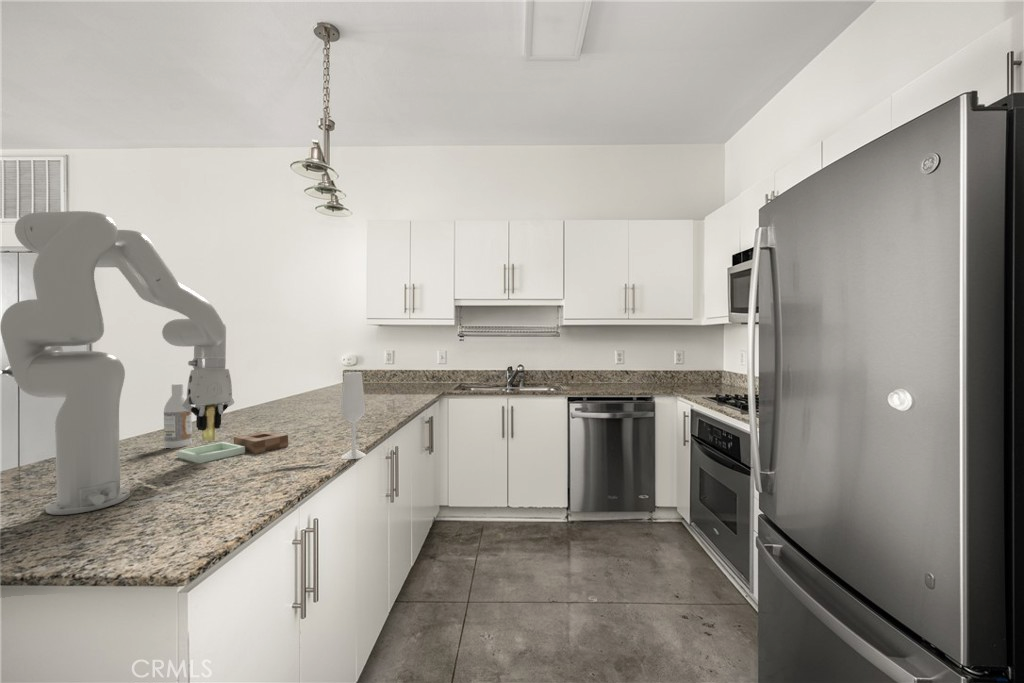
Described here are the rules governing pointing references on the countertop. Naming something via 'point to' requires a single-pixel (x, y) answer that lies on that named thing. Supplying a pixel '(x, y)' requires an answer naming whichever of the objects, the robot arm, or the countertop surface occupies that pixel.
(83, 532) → the countertop surface
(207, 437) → the gold cylinder
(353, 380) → the champagne flute
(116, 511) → the countertop surface
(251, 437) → the bore block
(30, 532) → the countertop surface
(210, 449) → the tray
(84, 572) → the countertop surface
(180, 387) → the bath foam
